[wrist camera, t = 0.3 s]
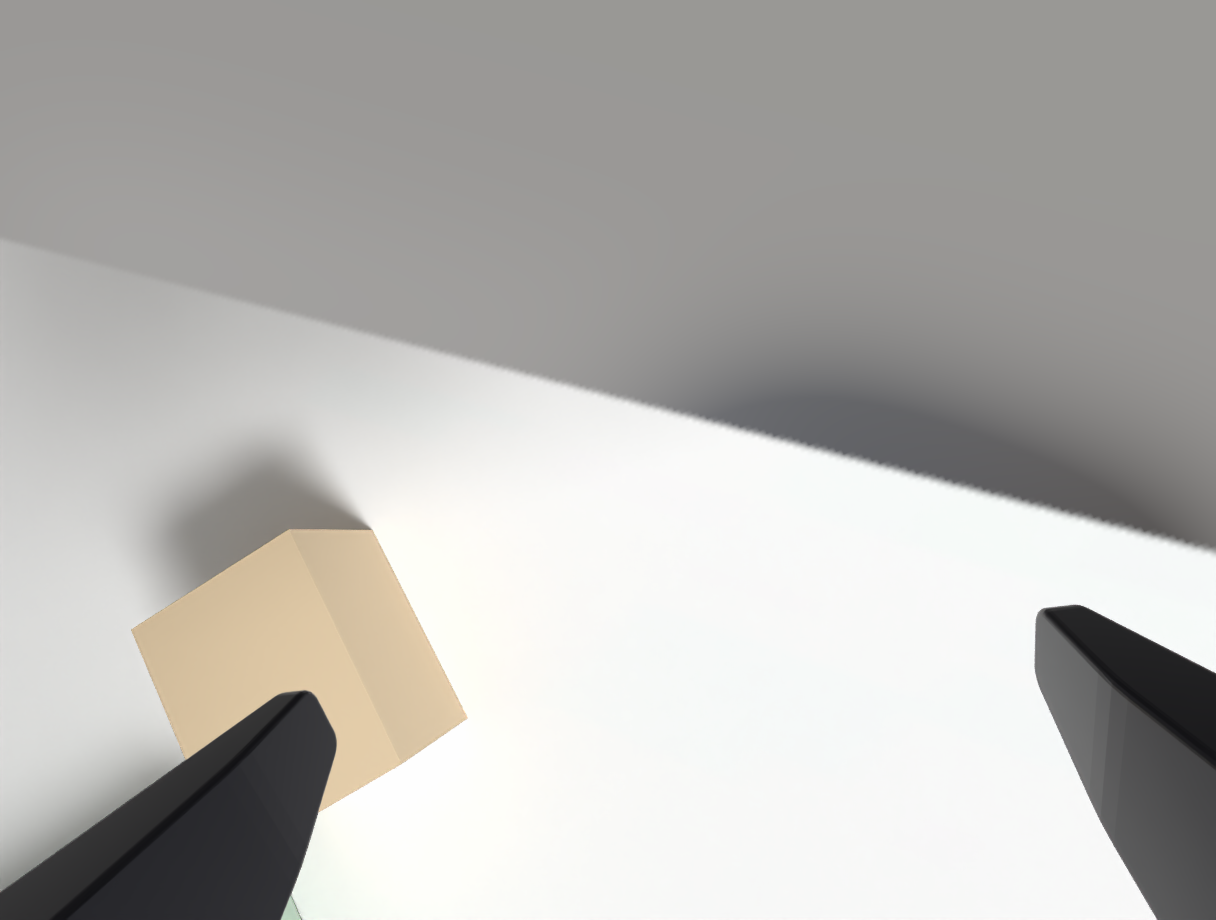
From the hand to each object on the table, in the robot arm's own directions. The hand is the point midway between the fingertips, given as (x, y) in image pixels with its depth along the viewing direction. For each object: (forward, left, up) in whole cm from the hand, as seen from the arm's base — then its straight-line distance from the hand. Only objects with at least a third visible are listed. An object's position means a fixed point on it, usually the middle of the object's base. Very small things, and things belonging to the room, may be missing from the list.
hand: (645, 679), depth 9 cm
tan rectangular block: (+4, +12, -15) cm, 20 cm away
